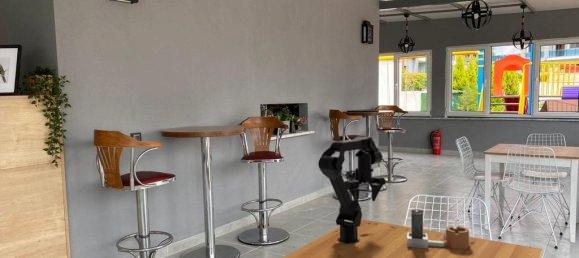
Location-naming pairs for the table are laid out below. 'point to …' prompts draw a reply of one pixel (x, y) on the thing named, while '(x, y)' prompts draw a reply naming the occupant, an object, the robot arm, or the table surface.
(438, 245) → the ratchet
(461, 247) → the bracket
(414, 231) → the dark metal cylinder
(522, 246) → the table surface
